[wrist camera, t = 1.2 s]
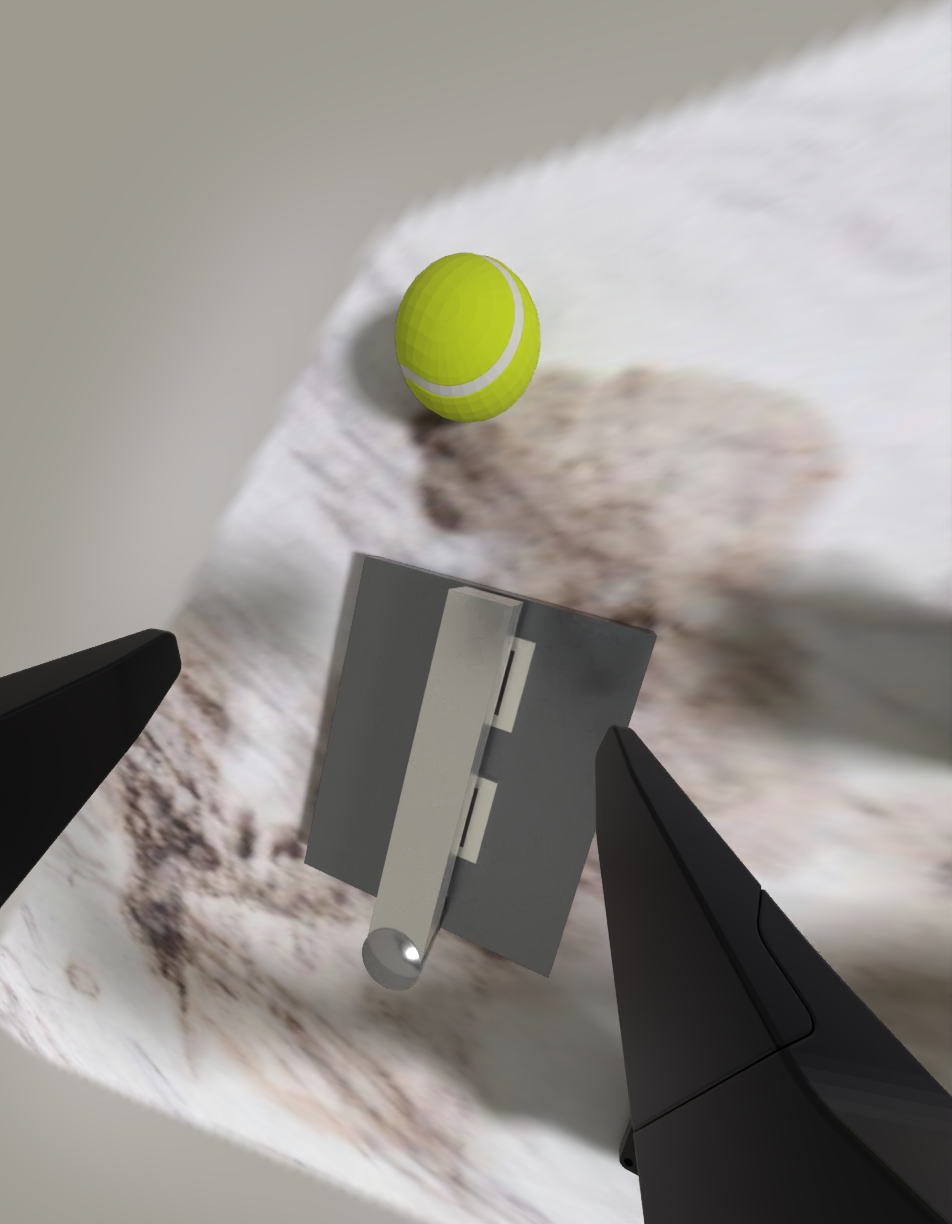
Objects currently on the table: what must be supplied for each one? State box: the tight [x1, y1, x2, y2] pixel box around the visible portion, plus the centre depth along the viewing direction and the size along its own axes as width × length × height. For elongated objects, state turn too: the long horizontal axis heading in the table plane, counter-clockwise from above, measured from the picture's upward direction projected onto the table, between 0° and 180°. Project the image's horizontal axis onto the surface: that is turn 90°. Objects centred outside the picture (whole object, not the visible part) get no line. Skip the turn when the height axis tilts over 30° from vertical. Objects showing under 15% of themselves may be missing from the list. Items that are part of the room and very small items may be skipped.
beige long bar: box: [362, 586, 523, 990], centre depth 23 cm, size 21×3×3 cm, turn 166°
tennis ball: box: [395, 253, 540, 422], centre depth 21 cm, size 7×7×7 cm
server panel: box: [304, 556, 657, 978], centre depth 25 cm, size 21×16×2 cm
